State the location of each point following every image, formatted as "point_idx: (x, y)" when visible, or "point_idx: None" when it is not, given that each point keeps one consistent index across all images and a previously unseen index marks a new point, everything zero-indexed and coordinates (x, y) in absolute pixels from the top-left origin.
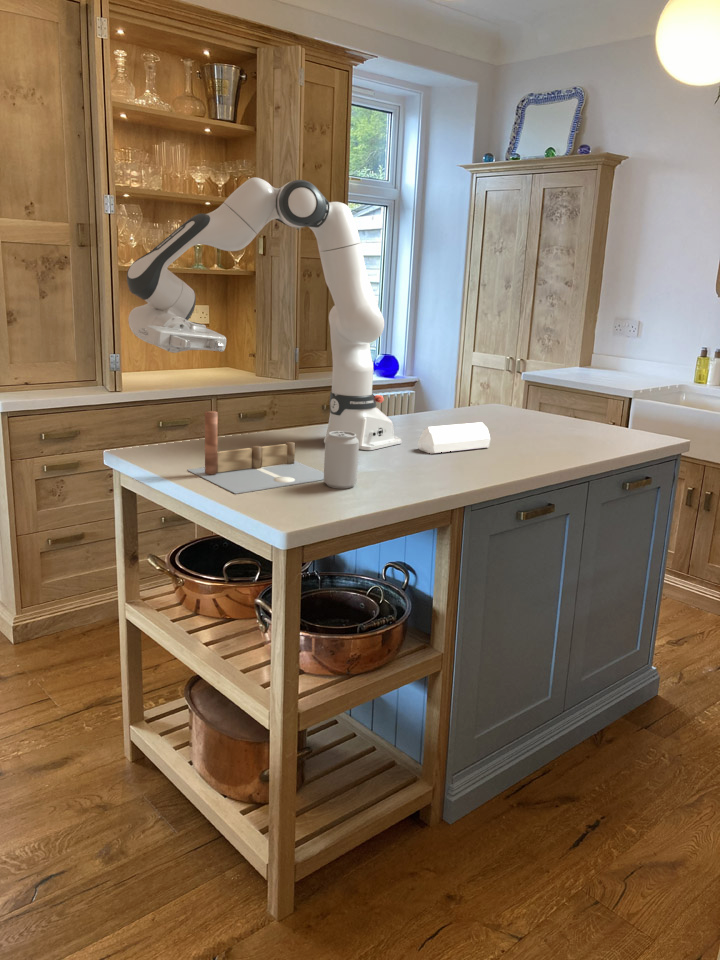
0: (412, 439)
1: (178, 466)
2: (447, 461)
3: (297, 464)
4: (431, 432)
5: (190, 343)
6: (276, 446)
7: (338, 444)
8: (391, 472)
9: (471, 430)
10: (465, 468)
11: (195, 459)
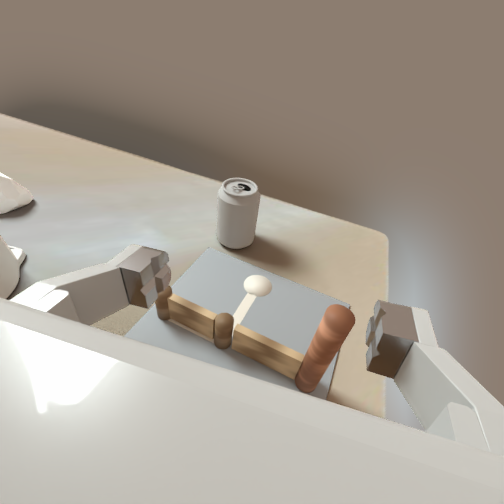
0: None
1: None
2: (72, 189)
3: None
4: (10, 178)
5: (375, 307)
6: (191, 302)
7: (259, 193)
8: (152, 216)
9: None
10: (102, 178)
11: None
